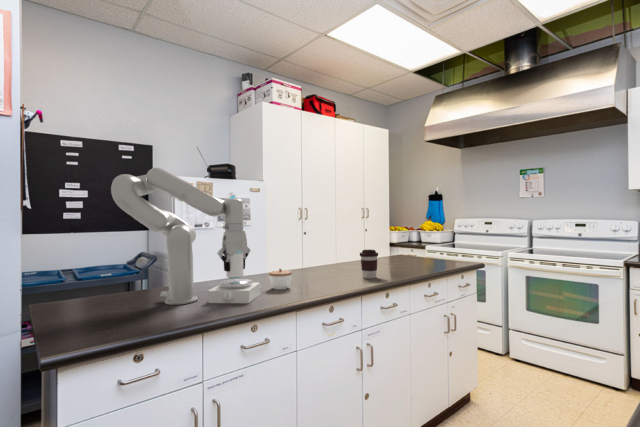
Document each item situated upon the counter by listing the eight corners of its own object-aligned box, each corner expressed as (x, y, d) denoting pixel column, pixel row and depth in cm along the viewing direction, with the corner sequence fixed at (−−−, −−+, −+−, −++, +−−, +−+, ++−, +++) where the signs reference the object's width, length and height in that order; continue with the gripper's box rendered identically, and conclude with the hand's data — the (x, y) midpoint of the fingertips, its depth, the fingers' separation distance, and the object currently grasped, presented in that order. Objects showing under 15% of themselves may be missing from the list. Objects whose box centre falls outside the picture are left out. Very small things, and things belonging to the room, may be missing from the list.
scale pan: (212, 287, 142) (212, 285, 142) (225, 281, 156) (225, 278, 156) (246, 287, 141) (246, 285, 141) (256, 281, 155) (256, 278, 155)
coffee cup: (380, 279, 185) (379, 250, 186) (361, 279, 186) (360, 251, 186) (377, 275, 195) (376, 249, 195) (359, 276, 195) (358, 249, 196)
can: (243, 278, 146) (243, 249, 146) (225, 279, 145) (225, 250, 145) (243, 275, 153) (243, 248, 153) (226, 276, 151) (226, 248, 152)
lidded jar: (264, 290, 164) (264, 269, 164) (276, 285, 174) (276, 266, 174) (285, 291, 160) (284, 270, 160) (295, 287, 170) (295, 267, 170)
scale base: (207, 303, 140) (207, 291, 140) (223, 293, 158) (223, 282, 158) (248, 303, 139) (248, 291, 139) (260, 293, 156) (260, 282, 156)
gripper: (221, 228, 140) (222, 273, 140) (256, 227, 153) (256, 268, 153) (211, 228, 145) (211, 271, 145) (245, 227, 158) (246, 266, 158)
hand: (234, 269), depth 149 cm, fingers closed on can, 7 cm apart
